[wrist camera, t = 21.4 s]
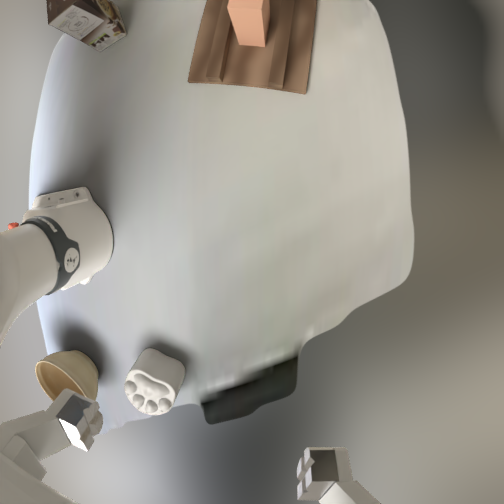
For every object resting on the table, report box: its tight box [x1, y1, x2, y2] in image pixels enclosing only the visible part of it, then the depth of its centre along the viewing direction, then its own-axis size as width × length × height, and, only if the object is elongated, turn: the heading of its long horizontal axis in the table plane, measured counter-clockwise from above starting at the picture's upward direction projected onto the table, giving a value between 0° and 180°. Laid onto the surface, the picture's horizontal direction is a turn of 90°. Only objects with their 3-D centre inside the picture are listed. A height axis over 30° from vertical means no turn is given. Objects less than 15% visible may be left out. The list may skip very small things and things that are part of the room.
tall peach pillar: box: [227, 0, 270, 47], centre depth 28 cm, size 4×6×12 cm, turn 172°
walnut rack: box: [188, 0, 317, 94], centre depth 33 cm, size 18×20×4 cm
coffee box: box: [47, 0, 127, 52], centre depth 28 cm, size 9×6×16 cm
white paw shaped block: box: [124, 348, 185, 415], centre depth 50 cm, size 10×13×9 cm
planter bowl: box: [35, 350, 98, 402], centre depth 52 cm, size 16×16×11 cm
